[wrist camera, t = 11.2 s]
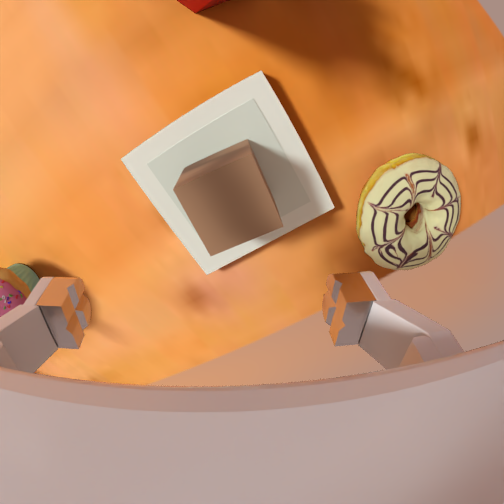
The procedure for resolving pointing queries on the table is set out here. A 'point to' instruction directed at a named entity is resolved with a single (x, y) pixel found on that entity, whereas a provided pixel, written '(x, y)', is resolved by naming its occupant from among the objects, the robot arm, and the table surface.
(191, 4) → the french fries
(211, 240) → the walnut cube
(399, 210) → the decorated donut
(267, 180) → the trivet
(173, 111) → the table surface
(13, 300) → the cupcake
